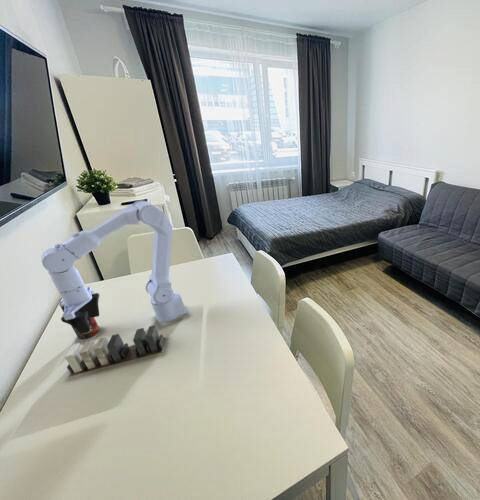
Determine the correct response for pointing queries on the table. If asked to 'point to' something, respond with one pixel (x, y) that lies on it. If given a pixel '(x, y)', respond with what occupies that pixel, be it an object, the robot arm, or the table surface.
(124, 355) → the book rack
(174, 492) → the table surface
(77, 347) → the cream book
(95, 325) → the deodorant
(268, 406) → the table surface
